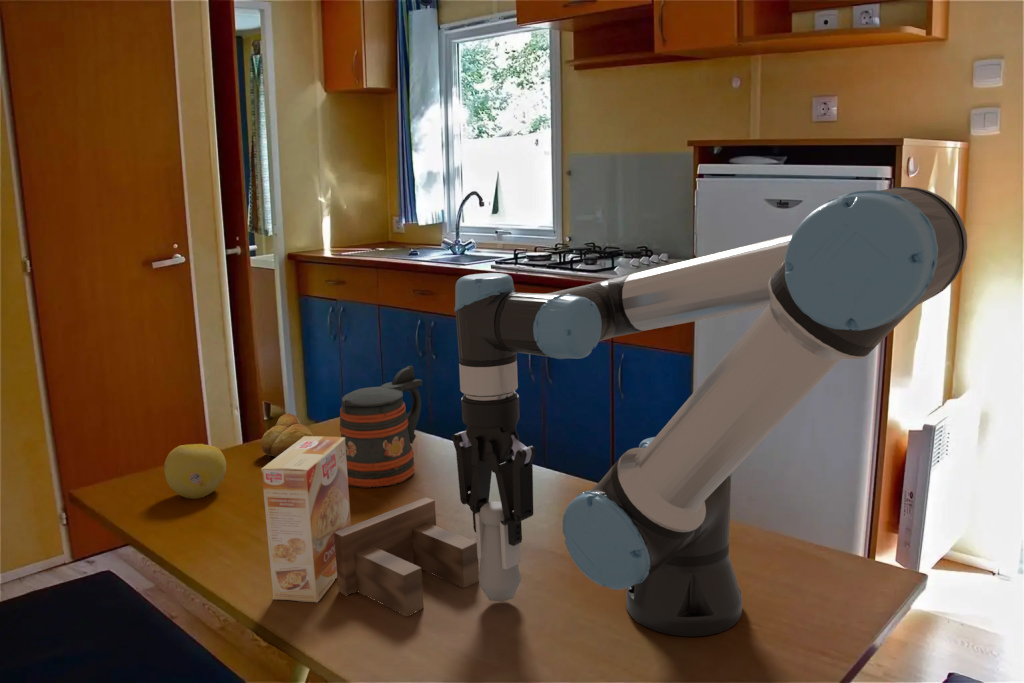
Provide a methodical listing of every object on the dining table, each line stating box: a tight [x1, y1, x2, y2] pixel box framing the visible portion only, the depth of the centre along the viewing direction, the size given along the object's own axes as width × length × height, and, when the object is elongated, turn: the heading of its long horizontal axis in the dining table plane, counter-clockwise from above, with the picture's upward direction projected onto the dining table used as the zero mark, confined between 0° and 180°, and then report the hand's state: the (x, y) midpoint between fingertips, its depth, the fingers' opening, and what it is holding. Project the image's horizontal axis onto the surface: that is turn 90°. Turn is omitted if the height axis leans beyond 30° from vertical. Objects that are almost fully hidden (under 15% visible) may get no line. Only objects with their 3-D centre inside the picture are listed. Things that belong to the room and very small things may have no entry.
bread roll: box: [260, 412, 314, 459], centre depth 185 cm, size 13×10×8 cm
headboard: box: [334, 496, 480, 617], centre depth 126 cm, size 13×17×9 cm
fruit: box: [163, 443, 227, 500], centre depth 164 cm, size 10×11×10 cm
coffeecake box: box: [260, 435, 352, 603], centre depth 129 cm, size 15×7×20 cm, turn 170°
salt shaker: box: [478, 500, 522, 603], centre depth 119 cm, size 6×6×13 cm
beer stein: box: [339, 365, 423, 489], centre depth 172 cm, size 19×15×20 cm
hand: (498, 560), depth 120 cm, fingers closed on salt shaker, 4 cm apart
